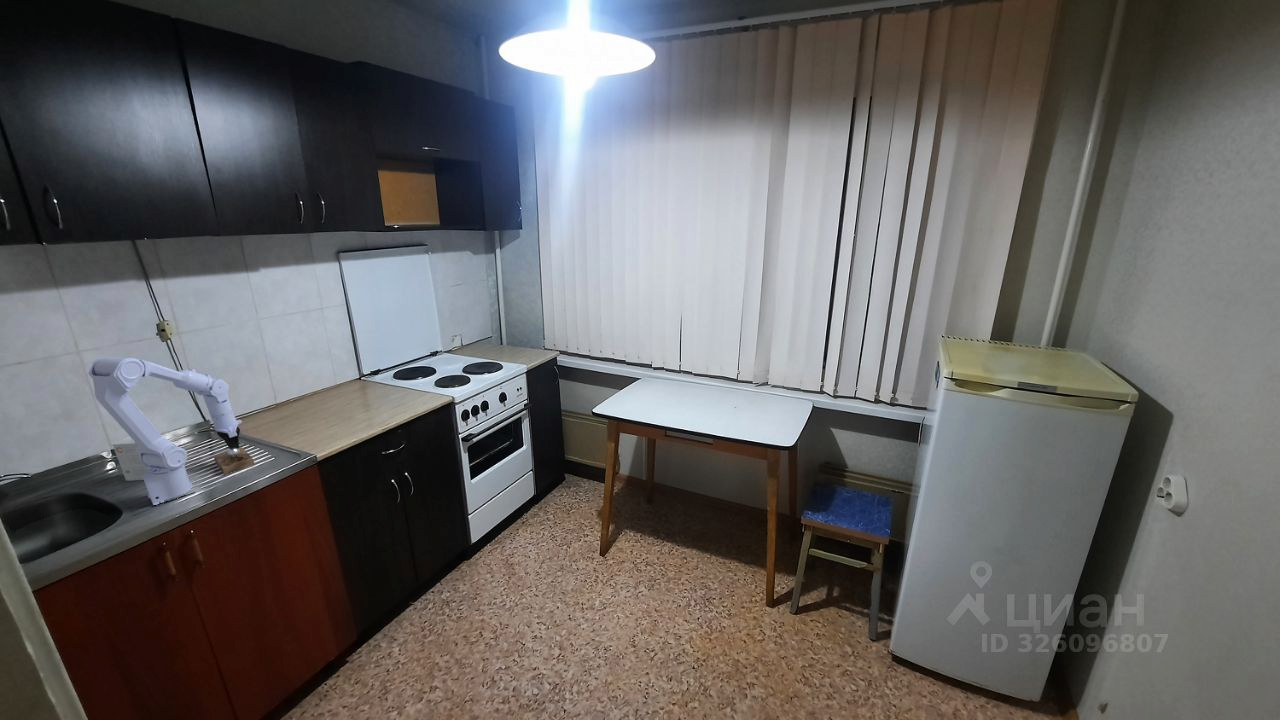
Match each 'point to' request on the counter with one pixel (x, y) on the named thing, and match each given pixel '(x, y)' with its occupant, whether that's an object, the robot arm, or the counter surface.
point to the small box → (130, 459)
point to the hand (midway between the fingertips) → (235, 449)
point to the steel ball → (233, 452)
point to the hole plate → (233, 461)
